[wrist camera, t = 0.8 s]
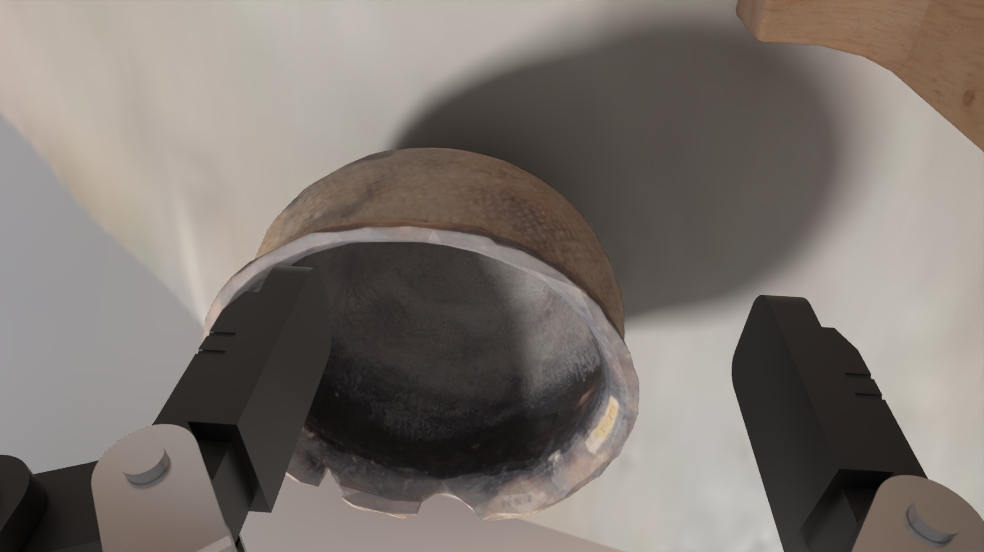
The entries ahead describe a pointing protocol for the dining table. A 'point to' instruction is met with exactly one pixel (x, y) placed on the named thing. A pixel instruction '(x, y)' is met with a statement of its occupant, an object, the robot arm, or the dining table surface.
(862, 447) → the robot arm
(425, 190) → the ceramic bowl
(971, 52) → the wooden block
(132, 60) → the dining table surface
